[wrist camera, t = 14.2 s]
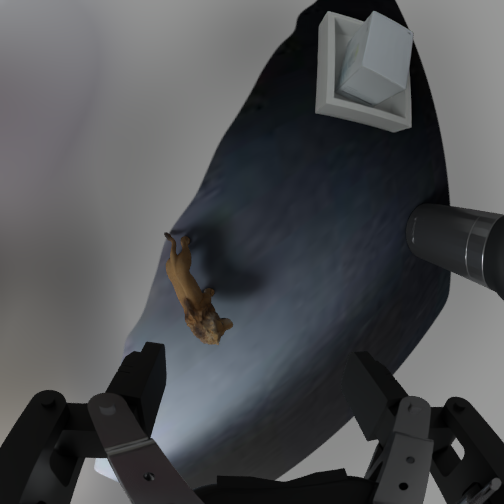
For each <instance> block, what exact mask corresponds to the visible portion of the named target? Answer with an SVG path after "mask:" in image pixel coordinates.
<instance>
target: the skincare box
mask: <svg viewBox="0 0 504 504" xmlns="http://www.w3.org/2000/svg"><path fill="white" fill-rule="evenodd" d="M412 43H413V32H412V31H410V30H409V29H407V28H405V27H404V26H402V25H400V24H398V23H397V22H395V21H393V20H391V19H389V18H388V17H386V16H384V15H382V14H380V13H378V12H376V11H373V12H372V14H371V15H370V16H369V17H368V18H367V20H366V21H365V22H364V23H363V24H362V26H361V27H360V28H359V29H358V31H357V32H356V33H355V34H354V36H353V37H352V38H351V39H350V40H349V42H348V44H347V48H346V52H345V55H344V59H343V63H342V66H341V70H340V73H339V77H338V80H337V84H336V87H335V90H334V92H335V93H337V94H340V95H342V96H344V97H347V98H349V99H351V100H353V101H355V102H357V103H359V104H361V105H364V106H367V107H371V108H373V107H374V106H376V105H378V104H379V103H381V102H383V101H384V100H386V99H388V98H390V97H392V96H394V95H396V94H398V93H400V92H402V91H404V90H406V87H407V80H408V73H409V66H410V59H411V51H412Z"/></svg>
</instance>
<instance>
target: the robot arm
mask: <svg viewBox="0 0 504 504" xmlns="http://www.w3.org/2000/svg"><path fill="white" fill-rule="evenodd" d="M406 240H407V243H408V246H409V248H410V250H411V252H412V253H413V254H414V255H416V256H417V257H419V258H422V259H424V260H426V261H429V262H431V263H433V264H435V265H438V266H440V267H442V268H445V269H447V270H449V271H451V272H454V273H456V274H458V275H460V276H463V277H465V278H467V279H469V280H472V281H474V282H476V283H478V284H480V285H482V286H484V287H487V288H489V289H491V290H493V291H495V292H497V294H498V295H499V296H500V297H501V298H502V299H503V300H504V215H503V214H497V213H490V212H485V211H479V210H472V209H466V208H459V207H452V206H446V205H439V204H431V203H424V204H421V205H419V206H418V207H417V208H416V209H415V210H414V211H413V212H412V214H411V215H410V217H409V220H408V223H407V227H406ZM165 386H166V358H165V346H164V344H160V343H153V342H146V343H145V345H144V347H143V349H142V351H141V352H136V351H133V352H132V353H130V354H129V355H128V356H126V357H125V359H124V360H123V362H122V364H121V366H120V367H119V369H118V372H116V374H115V376H114V378H113V379H112V381H111V383H110V385H109V387H108V388H107V390H106V392H105V393H100V394H97V395H95V396H93V397H92V398H91V399H90V400H89V402H88V403H86V404H85V403H84V404H81V403H67V402H66V400H65V398H64V396H63V395H62V394H61V393H59V392H57V391H53V390H45V391H41V392H39V393H37V394H36V395H34V397H33V398H32V399H31V401H30V402H29V404H28V405H27V407H26V408H25V410H24V411H23V412H22V414H21V416H20V417H19V419H18V420H17V422H16V423H15V425H14V426H13V428H12V430H11V431H10V433H9V434H8V436H7V437H6V439H5V441H4V442H3V444H2V446H1V447H0V504H70V502H71V499H72V496H73V492H74V489H75V486H76V483H77V479H78V477H79V474H80V471H81V468H82V465H83V462H84V460H85V457H87V458H107V459H108V461H109V463H110V465H111V467H112V469H113V471H114V473H115V475H116V477H117V479H118V481H119V482H120V484H121V486H122V488H123V489H124V491H125V493H126V494H127V496H128V498H129V499H130V502H131V503H132V504H423V501H424V497H425V492H426V488H427V483H428V477H429V472H430V473H431V474H432V476H433V478H434V480H435V482H436V484H437V485H438V487H439V489H440V491H441V493H442V495H443V497H444V499H445V501H446V503H447V504H504V443H503V442H502V441H501V439H500V438H499V437H498V435H497V434H496V433H495V432H494V431H493V429H492V428H491V427H490V426H489V425H488V424H487V422H486V421H485V420H484V419H483V418H482V416H481V415H480V414H479V413H478V412H477V411H476V410H475V408H474V407H473V406H472V405H471V404H470V403H469V402H468V401H467V400H465V399H463V398H460V397H451V398H449V399H448V400H447V402H446V403H445V405H444V407H430V405H429V403H428V402H427V401H425V400H424V399H422V398H420V397H416V396H408V394H407V393H406V392H405V390H404V389H403V388H402V387H401V385H400V384H399V383H398V382H397V380H395V378H394V377H393V375H392V374H391V373H390V372H389V370H388V369H387V368H386V367H385V366H384V365H382V364H381V363H379V362H378V361H375V360H374V359H373V357H372V356H371V355H370V354H369V353H368V352H367V351H364V352H351V353H350V355H349V357H348V360H347V364H346V367H345V370H344V373H343V377H342V380H341V390H342V393H343V395H344V397H345V399H346V401H347V403H348V405H349V407H350V408H351V410H352V412H353V414H354V416H355V418H356V420H357V422H358V424H359V426H360V428H361V430H362V432H363V434H364V436H365V438H366V440H367V441H371V440H376V439H378V440H379V443H378V445H377V447H376V449H375V452H374V454H373V457H372V460H371V462H370V465H369V467H368V469H367V472H366V474H365V476H364V478H361V477H355V476H347V474H346V471H345V469H344V468H343V469H338V470H331V471H324V472H316V473H313V474H310V475H307V476H304V477H301V478H297V479H294V480H290V481H287V482H281V481H274V480H267V479H261V478H255V477H243V476H217V483H216V484H209V485H205V486H201V487H198V488H195V489H193V490H192V489H191V488H190V487H189V485H188V484H187V483H186V482H185V481H184V479H183V478H182V477H181V476H180V474H179V473H178V472H177V470H176V469H175V468H174V467H173V465H172V464H171V463H170V461H169V460H168V459H167V457H166V456H165V455H164V453H163V452H162V450H161V449H160V448H159V446H158V445H157V443H156V442H155V441H154V440H153V439H152V438H150V437H151V434H152V430H153V427H154V423H155V420H156V416H157V413H158V409H159V406H160V403H161V399H162V396H163V393H164V389H165ZM455 438H457V439H458V441H459V442H460V443H461V445H462V446H463V447H464V451H465V454H464V457H463V459H462V460H460V458H459V457H458V455H457V454H456V452H455V451H454V449H453V448H452V446H451V444H452V442H453V441H454V439H455Z"/></svg>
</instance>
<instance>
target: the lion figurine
mask: <svg viewBox="0 0 504 504" xmlns="http://www.w3.org/2000/svg"><path fill="white" fill-rule="evenodd" d="M164 235H165V237H166V238H167V239H168V240H169V241H171V242H172V248H171V254H170V258H169V259H168V261H167V263H166V271H167V274H168V277H169V279H170V281H171V282H172V284H173V286H174V288H175V291H176V294H177V297H178V299H179V301H180V303H181V304H182V306H183V308H184V313H185V322H186V323H187V326H189V327H190V329H191V331H192V332H193V334H194V335H195V336H196V337H197V338H199V339H200V341H201V342H203V343H204V344H206V343H207V344H217V345H219V342H220V338H221V336H222V335H224V332H225V331H226V330H228V329H230V328H232V327H233V323H232V322H231V320H230V319H228V318H220V317H219V315H218V314H217V312H215V308H214V307H213V305H212V304H211V296H213V295H214V290H213V289H211V288H207V289H205V290H204V293H202V292H201V289H200V288H199V286H198V284H197V282H196V280H195V279H194V277H193V276H192V275H191V274H190V272H189V269H190V266H191V253H190V250H189V248H188V245H189V244H190V239H189V238H188V237H187V236H184V237H182V238H181V245H182V252H181V253H180V254H179V255H177V254H176V241H175V240H174V239H173V238H172V237H171V235H170V234H168V233H164Z"/></svg>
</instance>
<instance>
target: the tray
mask: <svg viewBox="0 0 504 504" xmlns="http://www.w3.org/2000/svg"><path fill="white" fill-rule="evenodd" d="M363 23H364V22H363V21H360V20H357V19H354V18H351V17H347V16H344V15H341V14H337V13H333V12H329V11H328V12H327V13H326V15H325V17H324V18H323V20H322V22H321V24H320V25H319V36H318V69H317V90H316V108H315V113H317V114H322V115H327V116H332V117H337V118H341V119H346V120H350V121H354V122H358V123H362V124H366V125H370V126H373V127H377V128H380V129H384V130H387V131H391V132H397V131H400V130H404V129H407V128H410V127H411V88H410V73H408V80H407V87H406V90H404V91H402V92H400V93H398V94H396V95H394V96H392V97H390V98H388V99H386V100H384V101H383V102H381V103H379V104H378V105H376V106H374V107H373V108H371V107H367V106H364V105H361V104H359V103H357V102H355V101H353V100H351V99H349V98H347V97H344V96H342V95H340V94H337V93H335V92H334V90H335V87H336V84H337V80H338V77H339V73H340V70H341V66H342V63H343V59H344V55H345V52H346V48H347V44H348V42H349V40H350V39H351V38H352V37H353V36H354V34H355V33H356V32H357V31H358V29H359V28H360V27H361V26H362V24H363Z"/></svg>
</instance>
